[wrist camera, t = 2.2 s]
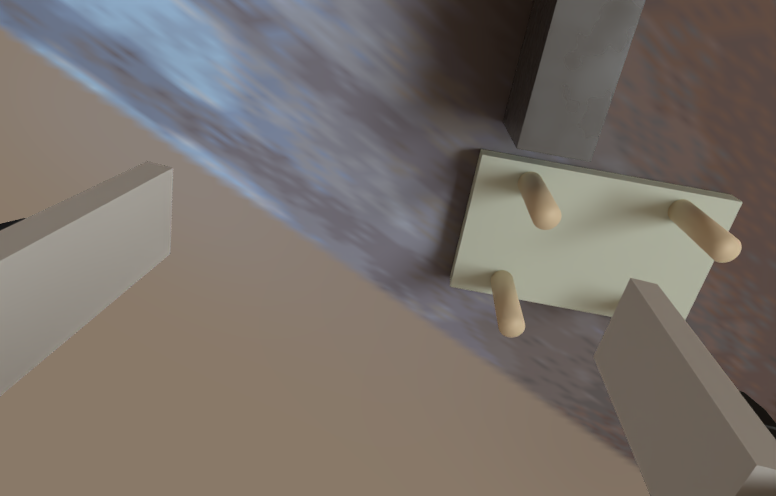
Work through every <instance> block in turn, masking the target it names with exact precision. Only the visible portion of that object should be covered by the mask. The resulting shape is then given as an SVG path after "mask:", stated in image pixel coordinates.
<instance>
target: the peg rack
mask: <svg viewBox="0 0 776 496" xmlns="http://www.w3.org/2000/svg"><path fill="white" fill-rule="evenodd" d="M742 203H743V202H742V201H740V200H739V199H737V198H736V197H734V196H733V195H731V194H725V193H720V192H714V191H709V190H703V189H698V188H693V187H687V186H682V185H676V184H671V183H665V182H660V181H654V180H649V179H643V178H638V177H632V176H627V175H621V174H616V173H610V172H605V171H599V170H594V169H588V168H583V167H577V166H572V165H566V164H561V163H556V162H550V161H545V160H539V159H534V158H528V157H523V156H517V155H512V154H506V153H501V152H495V151H490V150H484V149H481V150H480V154H479V159H478V163H477V167H476V171H475V175H474V179H473V183H472V187H471V192H470V196H469V200H468V204H467V208H466V212H465V216H464V220H463V225H462V229H461V233H460V237H459V241H458V245H457V249H456V253H455V258H454V262H453V266H452V270H451V274H450V287H455V288H460V289H466V290H471V291H476V292H482V293H487V294H493V298H494V304H495V310H496V315H497V321H498V327H499V331H500V332H501V334H503V335H504V336H506V337H517V336H519V335H520V334H522V333H523V331H524V329H525V322H524V319H523V315H522V311H521V307H520V303H519V300H525V301H530V302H535V303H541V304H546V305H551V306H557V307H562V308H567V309H573V310H578V311H583V312H589V313H594V314H600V315H605V316H610V317H612V316H613V314H614V312H615V310H616V307H617V305H618V303H619V301H620V299H621V297H622V295H623V292H624V290H625V288H626V286H627V284H628V282H629V280H630V278H634V279H638V280H642V281H646V282H650V283H655V284H658V286H659V287H660V288H661V289H662V291H663V292H664V293H665V295H666V296H667V297H668V299H669V300H670V301H671V303H672V304H673V305H674V307H675V308H676V309H677V310H678V312H679V313H680V314H681V316H682V317H683V318H684V320H685V319H686V317H687V315H688V313H689V311H690V309H691V307H692V305H693V303H694V301H695V299H696V297H697V295H698V293H699V291H700V289H701V287H702V285H703V283H704V280H705V278H706V276H707V274H708V272H709V270H710V268H711V266H712V264H713V262H714V261H716V262H720V263H725V262H729V261H732V260H733V259H735V258H736V257H737V256H738V255H739V253H740V251H741V243H740V241H739V240H738V239H737V238H736V237H734V236H733V235H732V234H731V233H729V232H728V231H729V229H730V227H731V225H732V223H733V221H734V219H735V217H736V215H737V213H738V211H739V209H740V207H741V205H742Z"/></svg>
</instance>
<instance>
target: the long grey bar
mask: <svg viewBox="0 0 776 496" xmlns="http://www.w3.org/2000/svg"><path fill="white" fill-rule="evenodd" d="M644 3H645V0H534V3H533V6H532V10H531V14H530V18H529V22H528V26H527V30H526V34H525V38H524V42H523V46H522V50H521V53H520V57H519V61H518V65H517V69H516V73H515V77H514V81H513V85H512V89H511V93H510V96H509V100H508V104H507V108H506V112H505V116H504V120H503V123H504V125H505V127H506V129H507V131H508V133H509V135H510V137H511V139H512V141H513V142H514V144H515V146H516V148H517V149H521V150H527V151H532V152H538V153H543V154H549V155H554V156H560V157H565V158H571V159H576V160H581V161H587V162H591V159H592V156H593V153H594V150H595V147H596V144H597V141H598V138H599V135H600V132H601V130H602V127H603V124H604V121H605V118H606V115H607V112H608V109H609V106H610V103H611V100H612V97H613V94H614V91H615V88H616V85H617V82H618V79H619V77H620V74H621V71H622V68H623V65H624V62H625V59H626V56H627V53H628V50H629V47H630V44H631V41H632V38H633V35H634V32H635V29H636V27H637V24H638V21H639V18H640V15H641V12H642V9H643V6H644Z"/></svg>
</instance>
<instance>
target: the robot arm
mask: <svg viewBox="0 0 776 496" xmlns="http://www.w3.org/2000/svg"><path fill="white" fill-rule="evenodd" d="M172 190H173V168H172V167H168V166H165V165H160V164H156V163H152V162H148V161H147V162H145V163H143V164H140V165H138V166H136V167H134V168H132V169H130V170H128V171H126V172H123V173H121V174H119V175H117V176H115V177H113V178H111V179H109V180H106V181H104V182H102V183H100V184H98V185H96V186H94V187H92V188H90V189H87V190H85V191H83V192H81V193H79V194H77V195H75V196H73V197H71V198H68V199H66V200H64V201H62V202H60V203H58V204H56V205H54V206H52V207H49V208H47V209H45V210H43V211H41V212H39V213H37V214H34V215H32V216H30V217H28V218H23V219H19V220H15V221H10V222H6V223H2V224H0V396H1V395H2V394H3V393H4V392H6V391H7V390H8V389H9V388H10V387H12V386H13V385H14V384H15V383H16V382H18V381H19V380H20V379H21V378H22V377H24V376H25V375H26V374H27V373H28V372H29V371H31V370H32V369H33V368H34V367H36V366H37V365H38V364H39V363H40V362H42V361H43V360H44V359H45V358H46V357H47V356H48V355H50V354H51V353H52V352H54V351H55V350H56V349H57V348H58V347H59V346H61V345H62V344H63V343H64V342H65V341H67V340H68V339H69V338H70V337H71V336H73V335H74V334H75V333H76V332H77V331H79V330H80V329H81V328H82V327H83V326H84V325H86V324H87V323H88V322H89V321H90V320H92V319H93V318H94V317H95V316H96V315H98V314H99V313H100V312H101V311H102V310H104V309H105V308H106V307H107V306H108V305H110V304H111V303H112V302H113V301H114V300H115V299H117V298H118V297H119V296H120V295H122V294H123V293H124V292H125V291H126V290H128V289H129V288H130V287H131V286H132V285H133V284H135V283H136V282H137V281H138V280H140V279H141V278H142V277H143V276H144V275H145V274H147V273H148V272H149V271H150V270H151V269H152V268H154V267H155V266H156V265H157V264H159V263H160V262H161V261H162V260H163V259H165V258H166V257H167V256H168V255H169V254H170V247H171V219H172V218H171V217H172ZM594 360H595V362H596V365H597V367H598V369H599V372H600V374H601V377H602V379H603V382H604V384H605V386H606V389H607V391H608V394H609V396H610V399H611V401H612V404H613V406H614V408H615V411H616V413H617V416H618V418H619V421H620V423H621V426H622V428H623V430H624V433H625V435H626V438H627V440H628V443H629V445H630V448H631V450H632V452H633V455H634V457H635V460H636V462H637V465H638V467H639V469H640V472H641V474H642V477H643V479H644V482H645V484H646V486H647V489H648V491H649V494H650V496H776V423H775V422H774V420H773V419H772V418H771V417H770V415H769V414H768V413H767V412H766V410H765V409H763V408H762V407H761V406H760V405H759V404H757V403H756V402H755V401H754V400H753V399H751V398H750V397H749V396H748V395H747V394H745V393H744V392H741V391H738V389H737V388H736V387H735V385H734V384H733V383H732V382H731V380H730V379H729V378H728V376H727V375H726V374H725V372H724V371H723V370H722V368H721V367H720V366H719V364H718V363H717V362H716V360H715V359H714V358H713V357H712V355H711V354H710V353H709V351H708V350H707V349H706V347H705V346H704V345H703V343H702V342H701V341H700V339H699V338H698V337H697V335H696V334H695V333H694V332H693V330H692V329H691V328H690V326H689V325H688V324H687V322H686V321H685V320H684V318H683V317H682V316H681V314H680V313H679V312H678V310H677V309H676V308H675V307H674V305H673V304H672V303H671V301H670V300H669V299H668V297H667V296H666V295H665V293H664V292H663V291H662V289H661V288H660V287H659V286H658V284H655V283H650V282H646V281H642V280H638V279H634V278H630V280H629V282H628V284H627V286H626V288H625V290H624V292H623V295H622V297H621V299H620V301H619V303H618V305H617V307H616V310H615V312H614V314H613V316H612V318H611V320H610V322H609V325H608V327H607V329H606V331H605V333H604V335H603V337H602V340H601V342H600V344H599V346H598V348H597V350H596V352H595V355H594Z"/></svg>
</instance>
